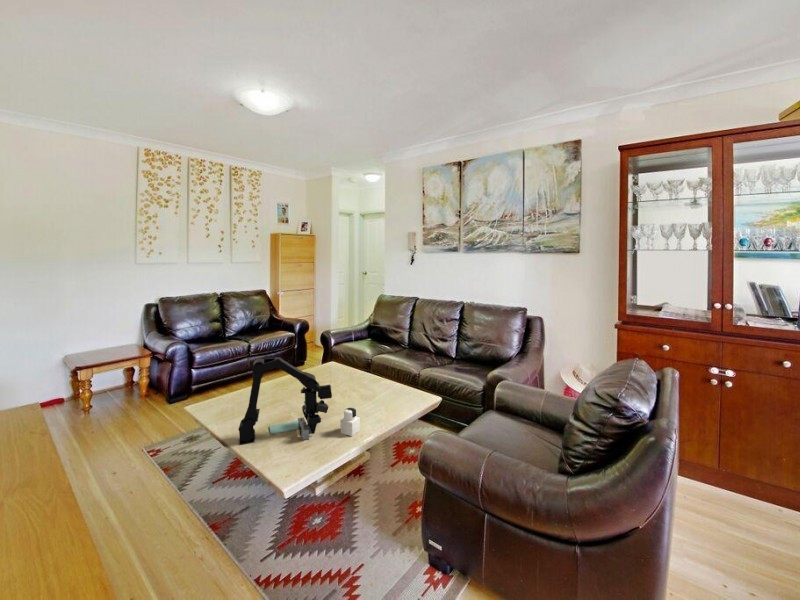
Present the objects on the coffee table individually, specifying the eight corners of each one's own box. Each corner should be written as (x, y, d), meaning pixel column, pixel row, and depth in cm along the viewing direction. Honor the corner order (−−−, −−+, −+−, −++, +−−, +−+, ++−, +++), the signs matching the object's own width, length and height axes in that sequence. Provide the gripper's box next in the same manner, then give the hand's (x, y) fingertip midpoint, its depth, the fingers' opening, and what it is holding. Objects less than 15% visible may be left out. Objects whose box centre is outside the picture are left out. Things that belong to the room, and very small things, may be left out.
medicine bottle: (348, 427, 189) (348, 405, 188) (360, 430, 186) (359, 408, 184) (340, 433, 183) (339, 410, 181) (352, 436, 180) (351, 413, 178)
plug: (297, 436, 180) (297, 429, 179) (296, 433, 183) (295, 426, 183) (315, 433, 183) (315, 426, 183) (313, 429, 187) (313, 423, 187)
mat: (270, 434, 182) (270, 433, 182) (269, 426, 190) (269, 425, 190) (299, 429, 187) (299, 428, 187) (296, 421, 195) (296, 420, 195)
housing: (302, 440, 176) (302, 430, 175) (298, 427, 189) (297, 417, 188) (309, 439, 177) (308, 429, 176) (303, 426, 190) (303, 416, 189)
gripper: (331, 404, 177) (331, 434, 179) (322, 391, 194) (323, 419, 196) (307, 408, 173) (308, 439, 175) (301, 394, 190) (302, 423, 191)
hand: (311, 429), depth 184 cm, fingers open, 8 cm apart
